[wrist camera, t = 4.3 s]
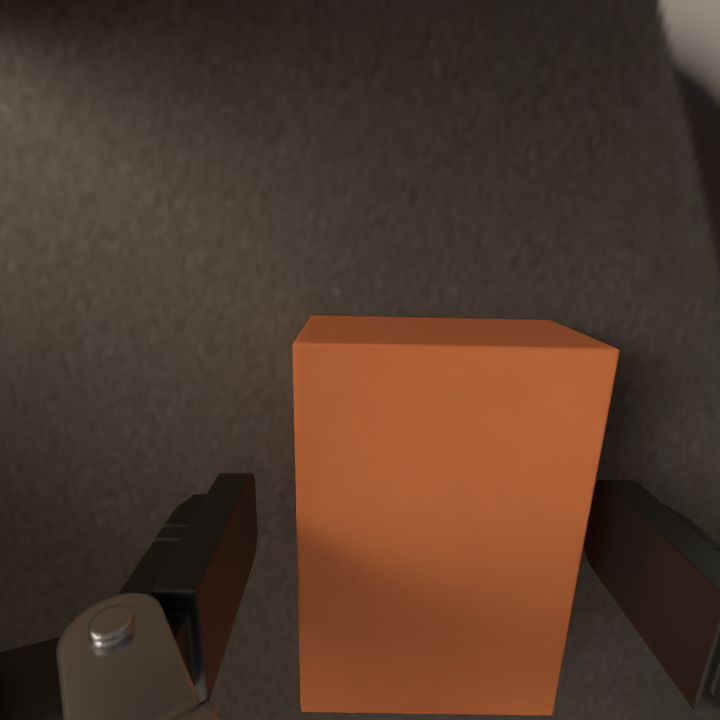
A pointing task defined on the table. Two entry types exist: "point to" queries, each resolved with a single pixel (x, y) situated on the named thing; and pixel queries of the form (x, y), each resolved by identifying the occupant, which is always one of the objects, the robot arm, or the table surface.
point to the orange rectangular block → (442, 508)
